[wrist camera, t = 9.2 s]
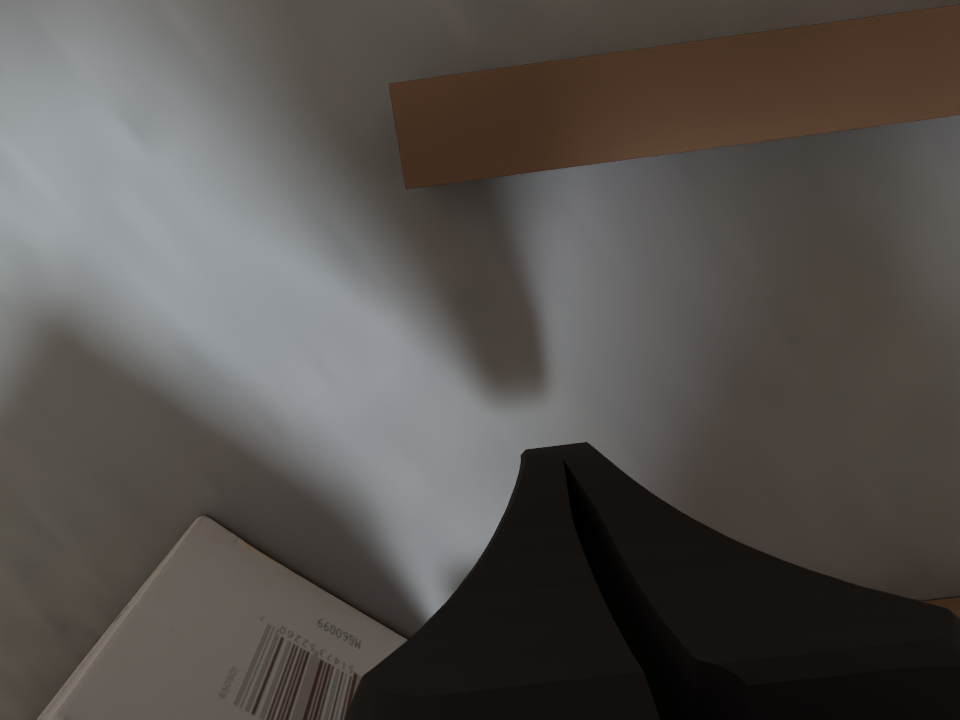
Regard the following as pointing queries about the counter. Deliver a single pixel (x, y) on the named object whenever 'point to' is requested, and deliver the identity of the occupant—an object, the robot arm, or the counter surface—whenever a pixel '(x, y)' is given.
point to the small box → (225, 643)
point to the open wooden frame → (681, 100)
